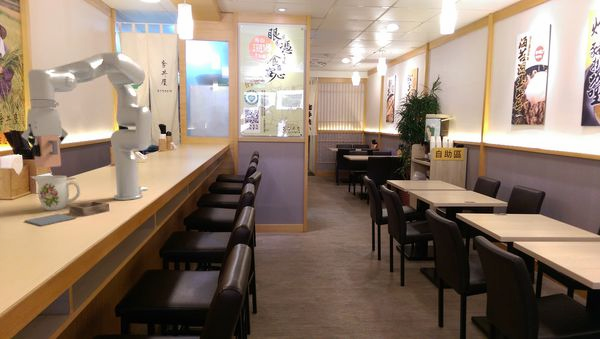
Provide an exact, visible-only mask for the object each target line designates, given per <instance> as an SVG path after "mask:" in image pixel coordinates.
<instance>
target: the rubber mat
mask: <svg viewBox="0 0 600 339" xmlns="http://www.w3.org/2000/svg"><path fill="white" fill-rule="evenodd" d="M76 219H77V217H75V216H72V215H67V214H61V213H55V214H50V215H45V216H41V217H40V216H39V217H36V218H35V217H34V218H31V219H25V220H24V222H25V223H28V224H31V225H36V226H39V227H45V226H50V225H53V224H59V223H63V222H66V221H72V220H76Z"/></svg>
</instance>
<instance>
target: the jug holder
mask: <svg viewBox="0 0 600 339" xmlns="http://www.w3.org/2000/svg"><path fill="white" fill-rule="evenodd" d="M68 211H69V212H68V213H69V214H72V215H76V216H81V217H88V216H92V215H97V214H102V213H105V212H106V213H107V212H110V204H109V203H107V202H102V201H96V200H93V201H86V202H81V203H77V204H71V205H68Z"/></svg>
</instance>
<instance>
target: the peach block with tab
mask: <svg viewBox="0 0 600 339" xmlns="http://www.w3.org/2000/svg"><path fill="white" fill-rule="evenodd" d="M59 137H60V136H40V137H39V143H38V145H40V153H41V156H39V157H38V156H34V165H35V166H34V167H36V168H43V169H45V168H54V167H61V166H62V160H61V158H62V157H61V144H59Z"/></svg>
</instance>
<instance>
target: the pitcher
mask: <svg viewBox="0 0 600 339" xmlns="http://www.w3.org/2000/svg"><path fill="white" fill-rule="evenodd" d="M30 178H31V179H33V180H34V181H36V182H37V184H38V188H37V195H38V199H39V202H40V205H41V206H42V207H43V208H44V209H45V210H46V211H59V210H63V209H65V208H66V206H67V204H69V203H72V202H75V201H76V200H77V199H78V198H79V197H80V195H81V188H80V185H79V184H78V183H77V182H76V181H72V180H71V181H68V182H67V179H68V176H67V175H61V174H60V175H59V174H58V175H33V176H30ZM71 185H73V186H74V187H75V188H76V194H75V196H74V197H72V198H69V197H70V190H69V189H70V188H69V186H71Z"/></svg>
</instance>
